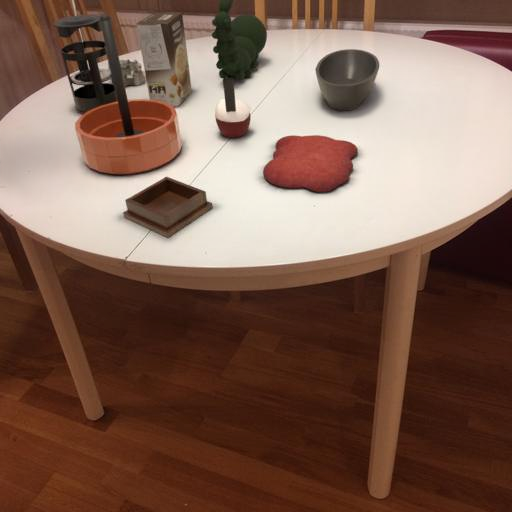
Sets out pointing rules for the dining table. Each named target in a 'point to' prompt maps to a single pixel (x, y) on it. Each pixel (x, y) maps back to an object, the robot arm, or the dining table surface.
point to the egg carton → (131, 72)
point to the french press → (86, 64)
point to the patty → (310, 162)
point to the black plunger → (117, 77)
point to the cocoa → (232, 112)
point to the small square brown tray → (167, 206)
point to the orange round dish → (129, 137)
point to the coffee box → (165, 57)
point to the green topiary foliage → (237, 42)
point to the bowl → (346, 77)
